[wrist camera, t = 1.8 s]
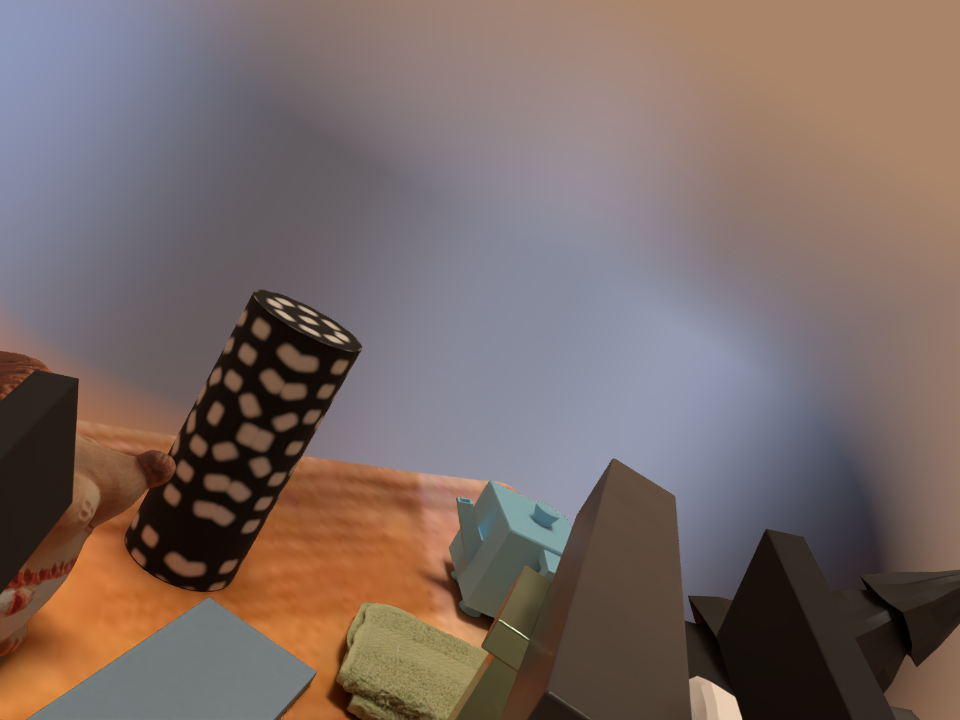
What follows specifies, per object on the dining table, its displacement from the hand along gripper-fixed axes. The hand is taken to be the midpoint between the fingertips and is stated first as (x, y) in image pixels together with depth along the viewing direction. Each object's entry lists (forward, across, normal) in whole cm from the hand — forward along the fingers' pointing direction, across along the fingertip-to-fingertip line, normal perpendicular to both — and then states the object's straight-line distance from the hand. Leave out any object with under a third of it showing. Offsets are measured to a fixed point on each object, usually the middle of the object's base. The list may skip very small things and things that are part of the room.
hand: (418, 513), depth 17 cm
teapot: (+53, +12, -46) cm, 72 cm away
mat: (+23, -9, -33) cm, 41 cm away
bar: (+6, +6, -8) cm, 12 cm away
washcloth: (+34, +7, -40) cm, 53 cm away
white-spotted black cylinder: (+38, -14, -35) cm, 53 cm away
